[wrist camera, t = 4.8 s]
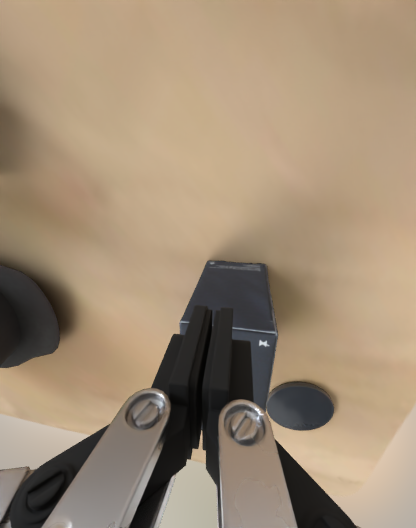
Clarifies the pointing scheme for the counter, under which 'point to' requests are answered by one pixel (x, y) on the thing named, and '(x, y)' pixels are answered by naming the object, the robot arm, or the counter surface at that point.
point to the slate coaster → (300, 406)
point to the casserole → (24, 320)
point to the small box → (242, 313)
